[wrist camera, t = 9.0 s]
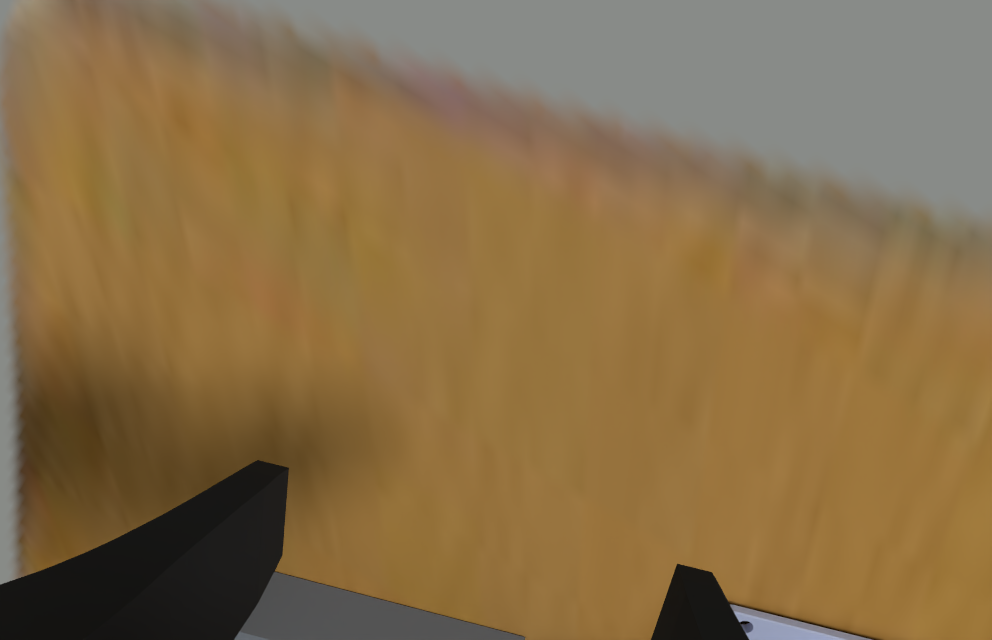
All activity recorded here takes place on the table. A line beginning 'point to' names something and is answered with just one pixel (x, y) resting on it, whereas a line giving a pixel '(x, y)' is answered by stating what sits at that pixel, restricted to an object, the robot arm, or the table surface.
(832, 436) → the table surface
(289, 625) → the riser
